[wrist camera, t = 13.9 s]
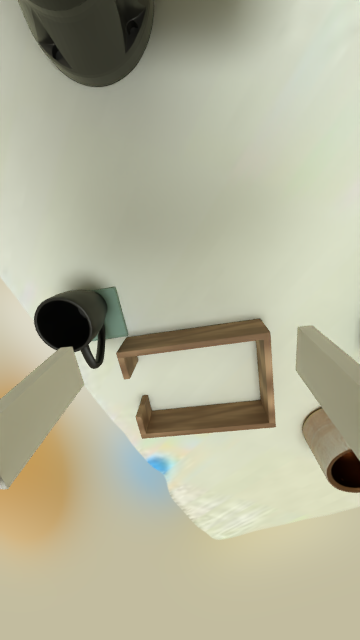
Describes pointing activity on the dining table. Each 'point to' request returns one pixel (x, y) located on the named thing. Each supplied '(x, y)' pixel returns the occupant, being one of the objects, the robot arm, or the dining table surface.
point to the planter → (332, 452)
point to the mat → (113, 314)
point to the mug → (73, 323)
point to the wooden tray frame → (209, 415)
